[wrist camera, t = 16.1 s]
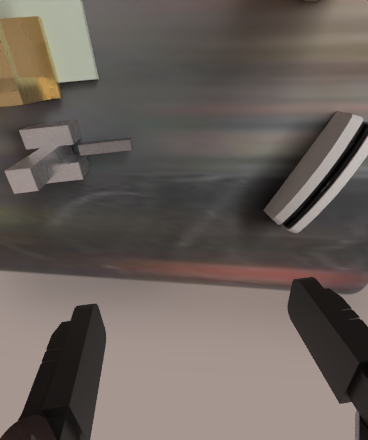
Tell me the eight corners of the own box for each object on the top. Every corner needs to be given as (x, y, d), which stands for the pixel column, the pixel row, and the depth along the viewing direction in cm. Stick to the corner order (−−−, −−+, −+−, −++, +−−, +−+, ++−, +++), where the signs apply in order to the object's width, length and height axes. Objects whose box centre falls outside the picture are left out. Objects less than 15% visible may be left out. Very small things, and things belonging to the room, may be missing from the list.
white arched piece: (286, 224, 41) (301, 251, 32) (261, 208, 41) (269, 231, 32) (363, 128, 35) (409, 127, 26) (333, 110, 35) (369, 102, 26)
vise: (33, 124, 30) (-27, 148, 20) (127, 114, 31) (117, 133, 21) (50, 173, 33) (5, 216, 23) (136, 163, 34) (130, 201, 23)
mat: (-76, -67, 22) (-85, -73, 21) (66, -74, 23) (63, -80, 22) (-13, 88, 28) (-18, 89, 27) (98, 79, 29) (97, 79, 28)
